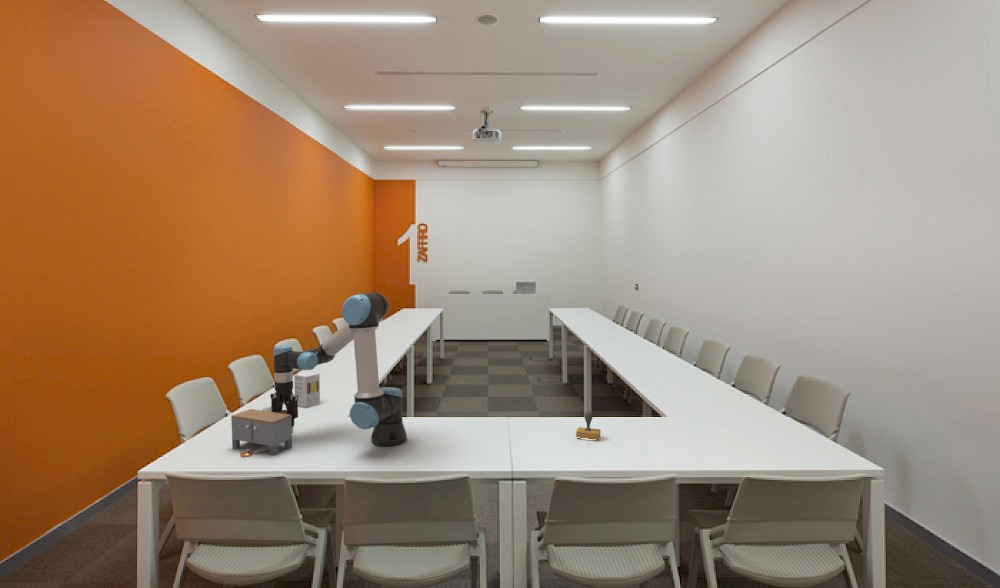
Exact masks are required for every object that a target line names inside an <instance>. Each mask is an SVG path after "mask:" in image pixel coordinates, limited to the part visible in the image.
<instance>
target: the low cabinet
mask: <svg viewBox="0 0 1000 588" xmlns="http://www.w3.org/2000/svg"><path fill="white" fill-rule="evenodd" d="M261 410H262V409H261ZM261 410H260V409H253V408H249V409H247V410H244V411H241V412H238V413H235V414H233V415H231V416H230V419H231V442H232V444H231V446H232V449H233V450H238V449H240V448H241V442H245V443H246V442H247V443H250V444H257V445H259V444H263V445H268V446H270V448H269V456H271V457H275V456H277V455H278V454H279V453H278V445H280V443H281V444H282V442H283V443H284V449H285V450H286V449H287V450H290V449H292V448H293V436H292V435H293V433H292V425H291V417H292V416H291V415H289V414H282V413H275V412H268V411H261Z"/></svg>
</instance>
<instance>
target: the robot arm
mask: <svg viewBox="0 0 1000 588" xmlns="http://www.w3.org/2000/svg"><path fill="white" fill-rule="evenodd" d="M389 310H390V304H389V301H388V299H387V298H386V297H385V295H384V294H382V293H379V292H370V293H361V294H360V293H358V294H354V295H351V296H350V297H348V298H347V299H346V300H345V301H344V302H343V304H342V308H341V315H342V319H343V320H345V324H344V325H342V326H341V327H340V328H339V329H338V330H336V331H335V332H333V334H332V335H331V336H329V337H328V338H327V339H326V340H325V341H323V342H322V343H321V344H320V345H318V346H317V347H315V348H311V349H307V350H303V351H297V350H296V351H295V350H293V346H292V345H289V344H281V345H276V346H274V348H273V356H272V357H273V369H274V370H273V371H274V373H273V374H274V375H273V376H274V377H273V378H274V380H273V381H274V391H275V392H273V393H271V394H269V395H270V396H269V397H270V400H271V401H270V402H271V405H270V406H271V411H272V412H275V413H279V411H282V410H283V407H284V406H285V410H287V414H289V415H291V425H292V434H294V427H295V419H298V418H299V406H298V396H295V394H294V393H293V389H294V380H293V379H294V371H293V370H300V371H301V370H303V371H312V370H314V369H315V368H316V367H317V366H319V365H323V364H327V363H329V362H331V361H333V360H334V359H335V357H336V355H337V354H338V353H339V352H340V351H341V350H343V349H344V348H345V347H346V346H348V345H349V344H350V343H351V342H352V341H353V346H354V357H355V358H354V360H355V371H356V372H355V373H356V385H357V391H356V393H355V394H354V395H353V399H354V403H353V404H352V406H350V409H349V417H350V420H351V422H352V423H353V425H355V426H356V428H358V429H361V430H370V429H372V433H371V437H370V439H371V440H370V442H371V444H372V443H373V444H372V445H375V446H377V445H378V447H394V445H395V446H399V445H401V443H402V444H404V443H406V441H407V440H408V437H407V431H406V428H405V426H404V421H403V397H404V396H403V392H402V389H400V388H398V387H393V386H392V387H390V386H387V387H386V386H385V387H380V379H379V378H380V376H379V366H378V364H379V363H378V362H379V361H378V354H377V353H378V351H377V338H376V337H377V336H376V330H377V329H378V328H379V322H381V321H382V320H383V319H385V317H386V316H387V315H388V314H389ZM398 444H399V445H398Z"/></svg>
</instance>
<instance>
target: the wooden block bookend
mask: <svg viewBox="0 0 1000 588" xmlns="http://www.w3.org/2000/svg"><path fill="white" fill-rule="evenodd" d="M279 413H282V414H287V409H282V411H279ZM282 443H284V442H282ZM282 443H281V444H282ZM267 450H270V446H268V445H263V444H257V445H254V446H252V447H249V448H247V449H245V451H252V452H253V454H254V455H258V454H260V452H261V453H263V452H265V451H267ZM245 451H244V452H245Z"/></svg>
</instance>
